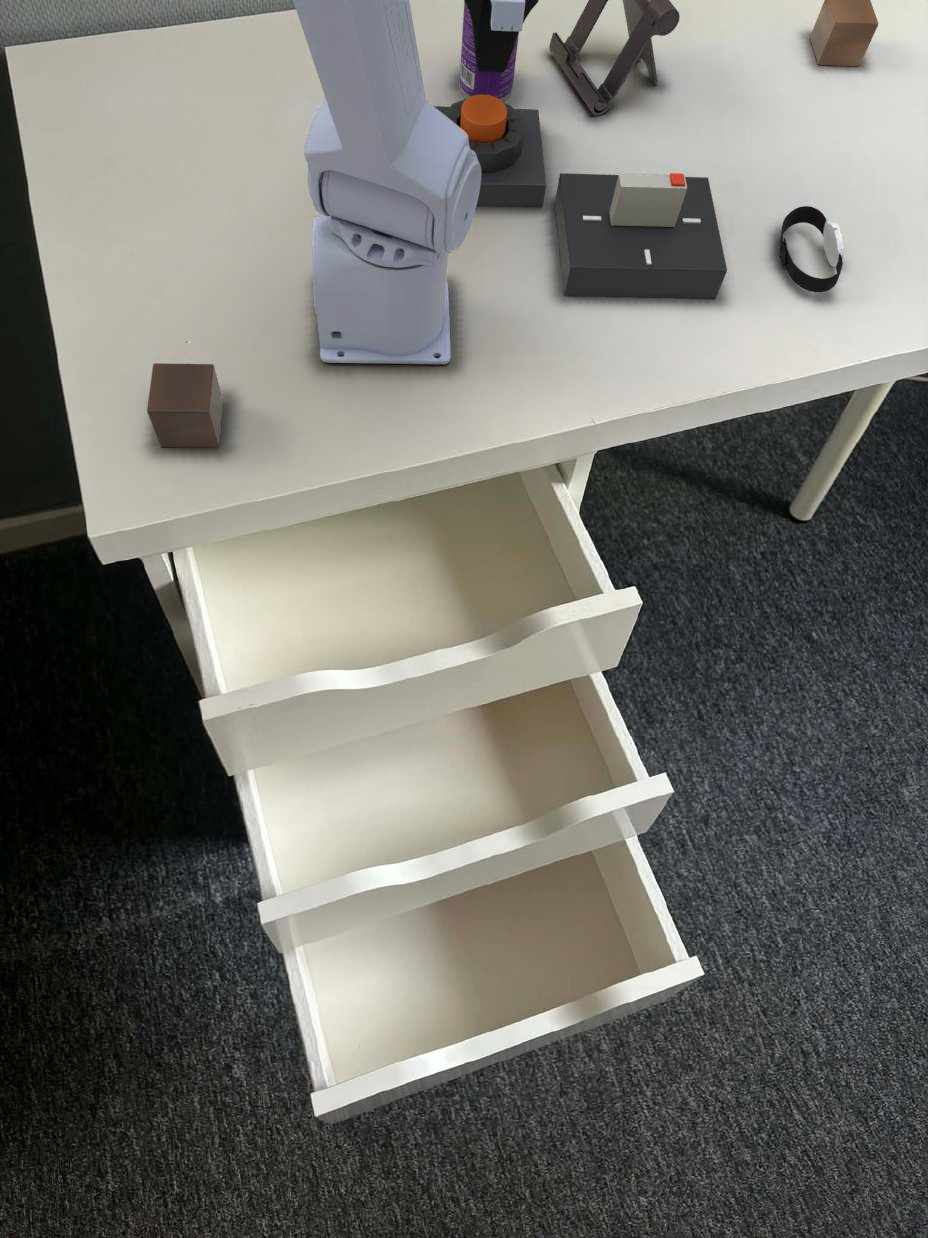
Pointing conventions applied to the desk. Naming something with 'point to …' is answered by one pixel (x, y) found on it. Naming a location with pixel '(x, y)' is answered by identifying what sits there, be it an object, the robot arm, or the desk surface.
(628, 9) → the tablet stand
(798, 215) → the watch
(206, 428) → the walnut block
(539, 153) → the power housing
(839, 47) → the cork block
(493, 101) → the power button
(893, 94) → the desk surface
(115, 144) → the desk surface
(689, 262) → the panel
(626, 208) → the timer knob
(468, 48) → the container
